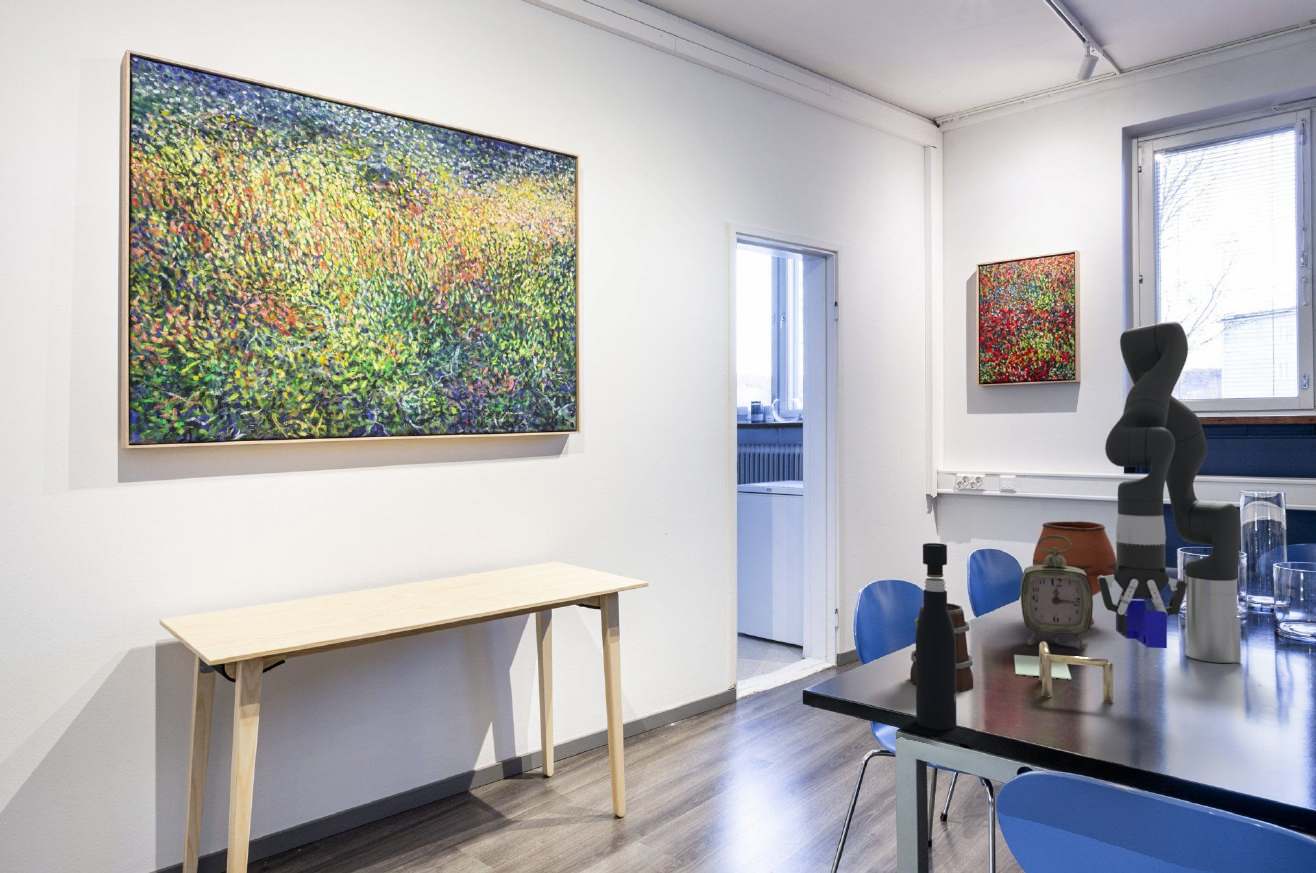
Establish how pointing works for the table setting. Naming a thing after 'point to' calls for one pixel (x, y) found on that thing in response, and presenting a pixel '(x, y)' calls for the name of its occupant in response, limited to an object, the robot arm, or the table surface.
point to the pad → (1031, 667)
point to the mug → (962, 658)
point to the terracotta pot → (1080, 549)
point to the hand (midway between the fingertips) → (1141, 635)
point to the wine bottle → (935, 648)
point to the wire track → (1047, 658)
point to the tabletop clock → (1056, 597)
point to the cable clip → (1146, 625)
